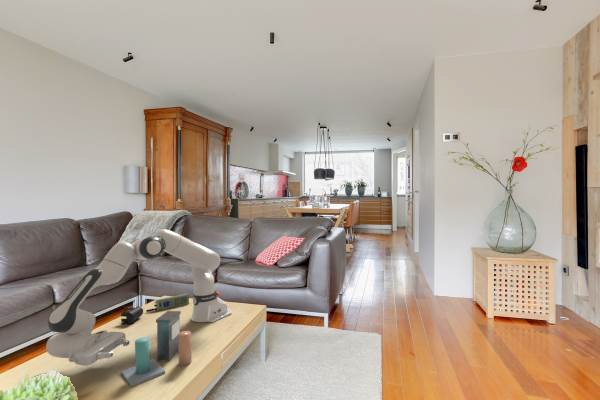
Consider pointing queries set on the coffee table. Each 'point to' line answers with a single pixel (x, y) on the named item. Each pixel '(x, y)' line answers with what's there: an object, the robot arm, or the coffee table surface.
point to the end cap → (131, 315)
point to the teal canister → (142, 355)
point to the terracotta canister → (184, 347)
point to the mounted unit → (168, 335)
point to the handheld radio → (170, 302)
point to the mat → (136, 378)
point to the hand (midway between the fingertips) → (120, 348)
